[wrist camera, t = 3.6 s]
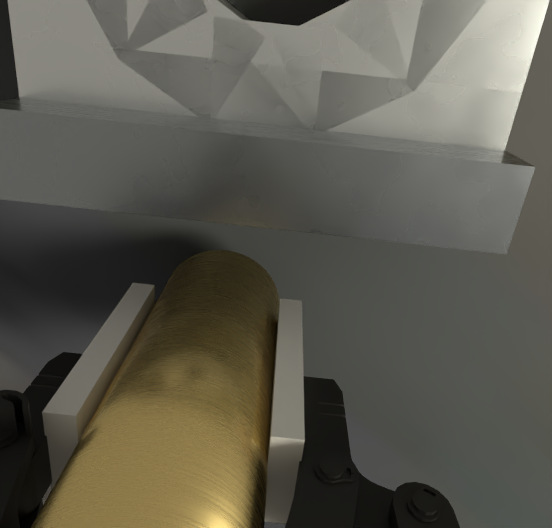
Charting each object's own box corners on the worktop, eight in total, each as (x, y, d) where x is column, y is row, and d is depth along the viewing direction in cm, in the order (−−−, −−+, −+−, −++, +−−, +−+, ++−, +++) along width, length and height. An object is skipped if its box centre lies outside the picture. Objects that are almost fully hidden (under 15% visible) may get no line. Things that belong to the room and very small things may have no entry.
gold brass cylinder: (273, 356, 20) (243, 747, 9) (165, 344, 20) (-4, 721, 9) (284, 256, 18) (266, 588, 7) (165, 243, 18) (-45, 556, 7)
